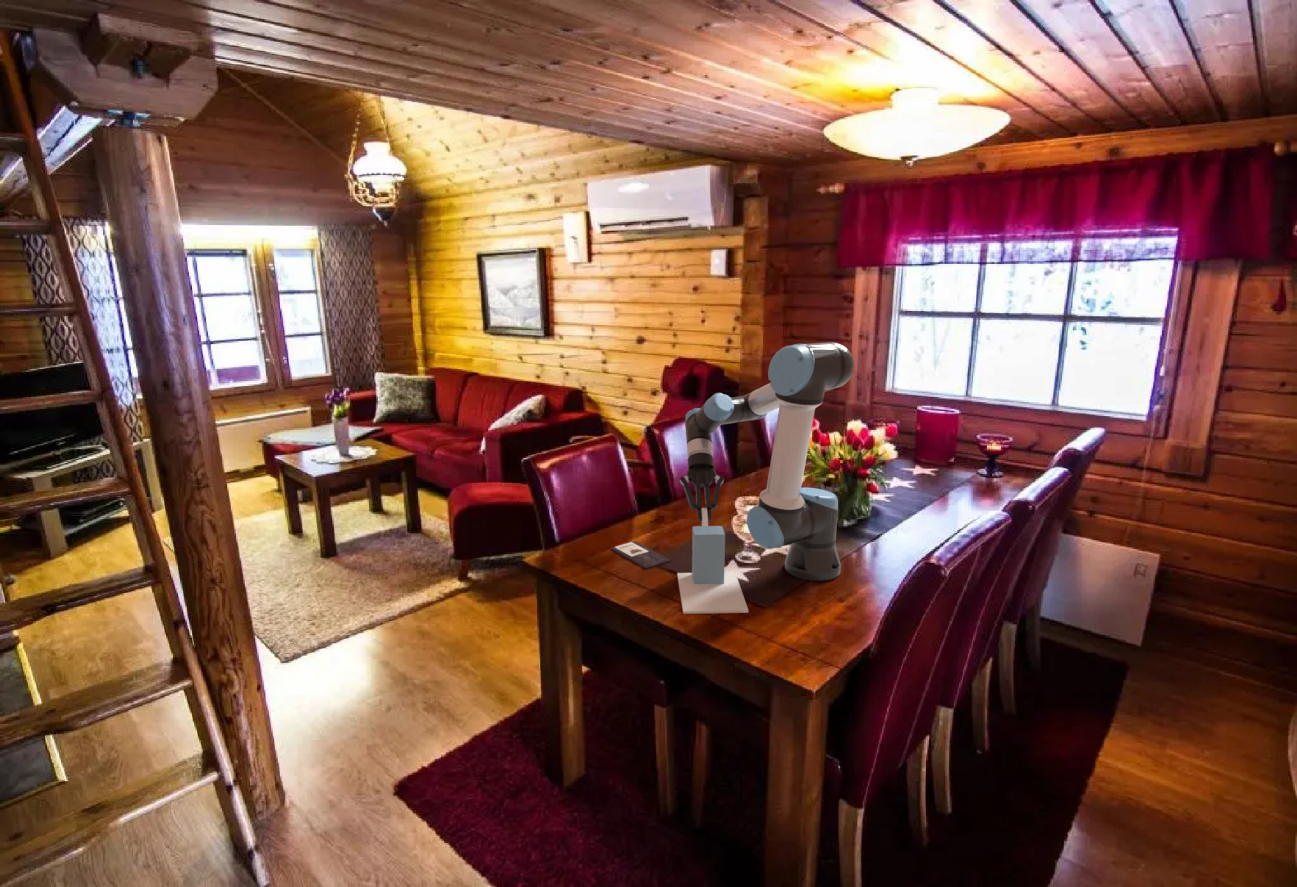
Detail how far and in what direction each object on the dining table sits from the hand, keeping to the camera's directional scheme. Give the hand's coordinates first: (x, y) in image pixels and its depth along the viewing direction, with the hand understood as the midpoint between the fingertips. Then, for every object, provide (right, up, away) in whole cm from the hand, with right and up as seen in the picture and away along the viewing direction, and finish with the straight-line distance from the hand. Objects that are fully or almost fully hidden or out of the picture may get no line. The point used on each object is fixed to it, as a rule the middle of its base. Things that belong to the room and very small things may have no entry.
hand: (705, 531), depth 187 cm
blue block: (0, -12, -4) cm, 13 cm away
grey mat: (0, -15, -11) cm, 18 cm away
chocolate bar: (-18, -9, +13) cm, 24 cm away
